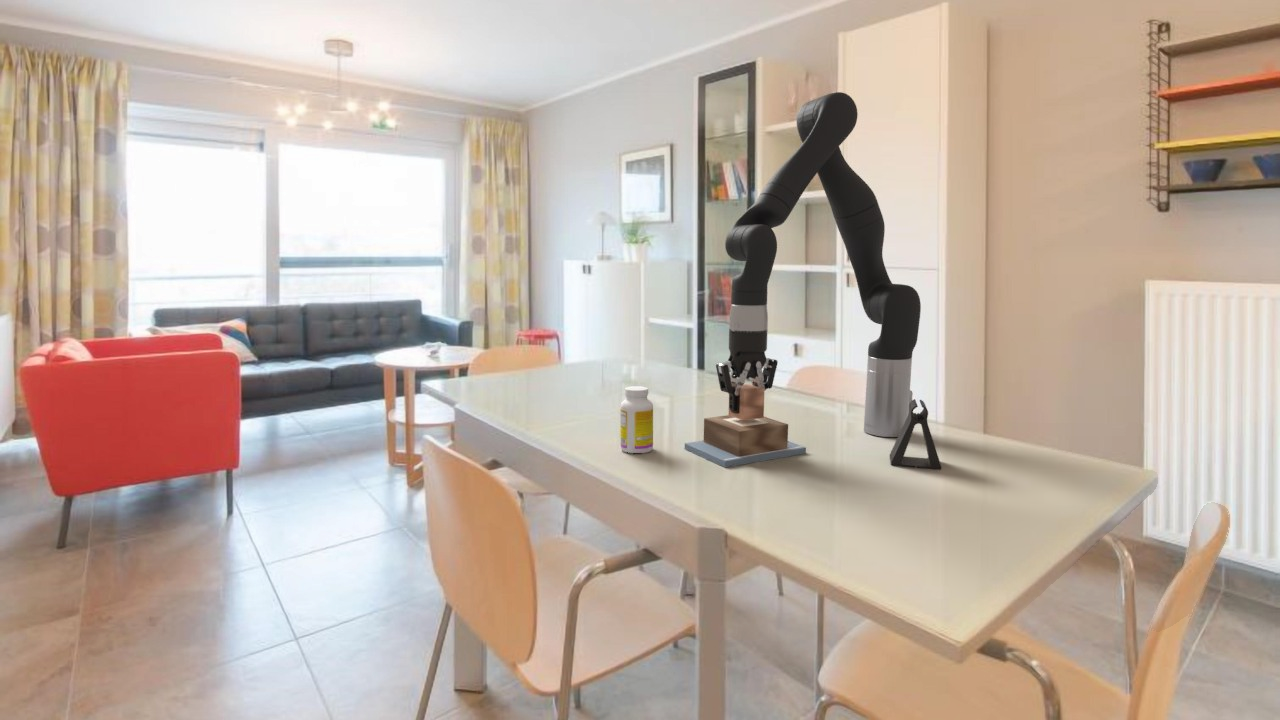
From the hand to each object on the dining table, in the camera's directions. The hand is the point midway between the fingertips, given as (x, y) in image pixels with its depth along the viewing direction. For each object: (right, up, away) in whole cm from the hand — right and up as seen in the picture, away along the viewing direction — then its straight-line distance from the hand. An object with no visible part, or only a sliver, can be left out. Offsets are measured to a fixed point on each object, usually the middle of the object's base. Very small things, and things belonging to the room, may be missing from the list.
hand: (745, 411), depth 142 cm
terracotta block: (0, -1, 0) cm, 1 cm away
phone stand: (+32, -10, -6) cm, 34 cm away
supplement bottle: (-22, -8, +2) cm, 24 cm away
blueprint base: (0, -8, +1) cm, 8 cm away
